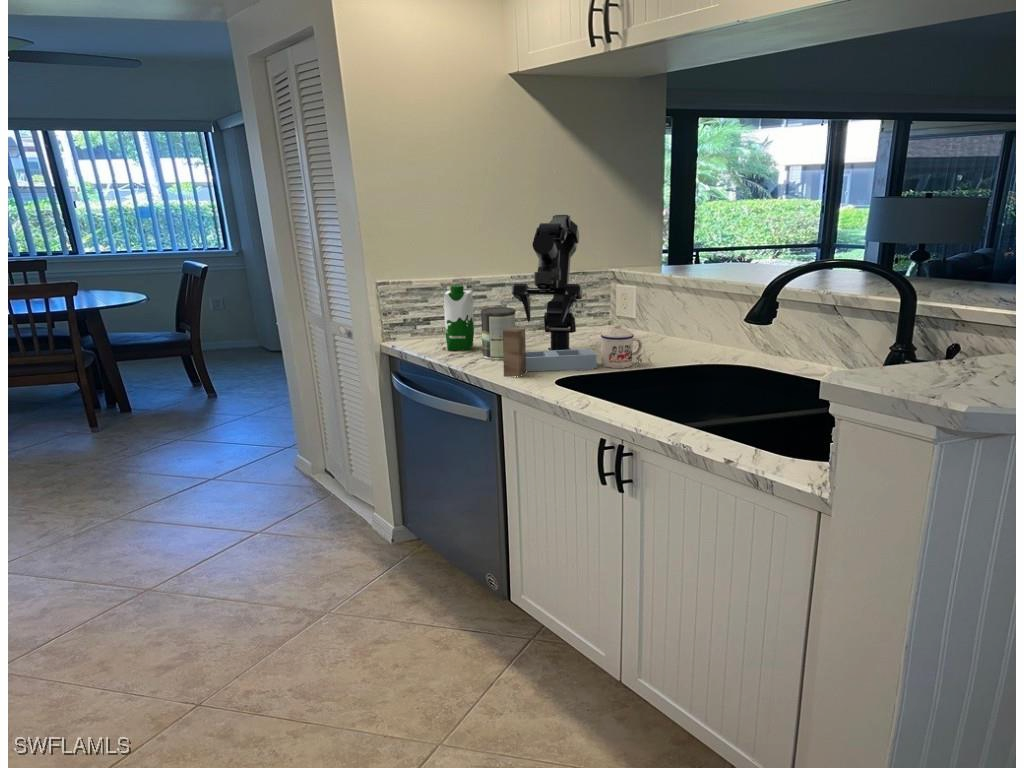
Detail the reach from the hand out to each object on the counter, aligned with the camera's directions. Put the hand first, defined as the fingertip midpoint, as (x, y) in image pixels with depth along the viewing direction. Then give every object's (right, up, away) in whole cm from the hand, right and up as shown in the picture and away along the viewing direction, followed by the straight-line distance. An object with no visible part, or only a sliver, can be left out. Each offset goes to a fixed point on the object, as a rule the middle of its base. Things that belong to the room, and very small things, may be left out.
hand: (545, 321), depth 208 cm
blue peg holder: (+3, -12, +7) cm, 14 cm away
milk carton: (-25, -6, +35) cm, 43 cm away
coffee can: (-13, -9, +22) cm, 27 cm away
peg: (-8, -14, -1) cm, 17 cm away
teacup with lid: (+22, -12, +8) cm, 26 cm away
